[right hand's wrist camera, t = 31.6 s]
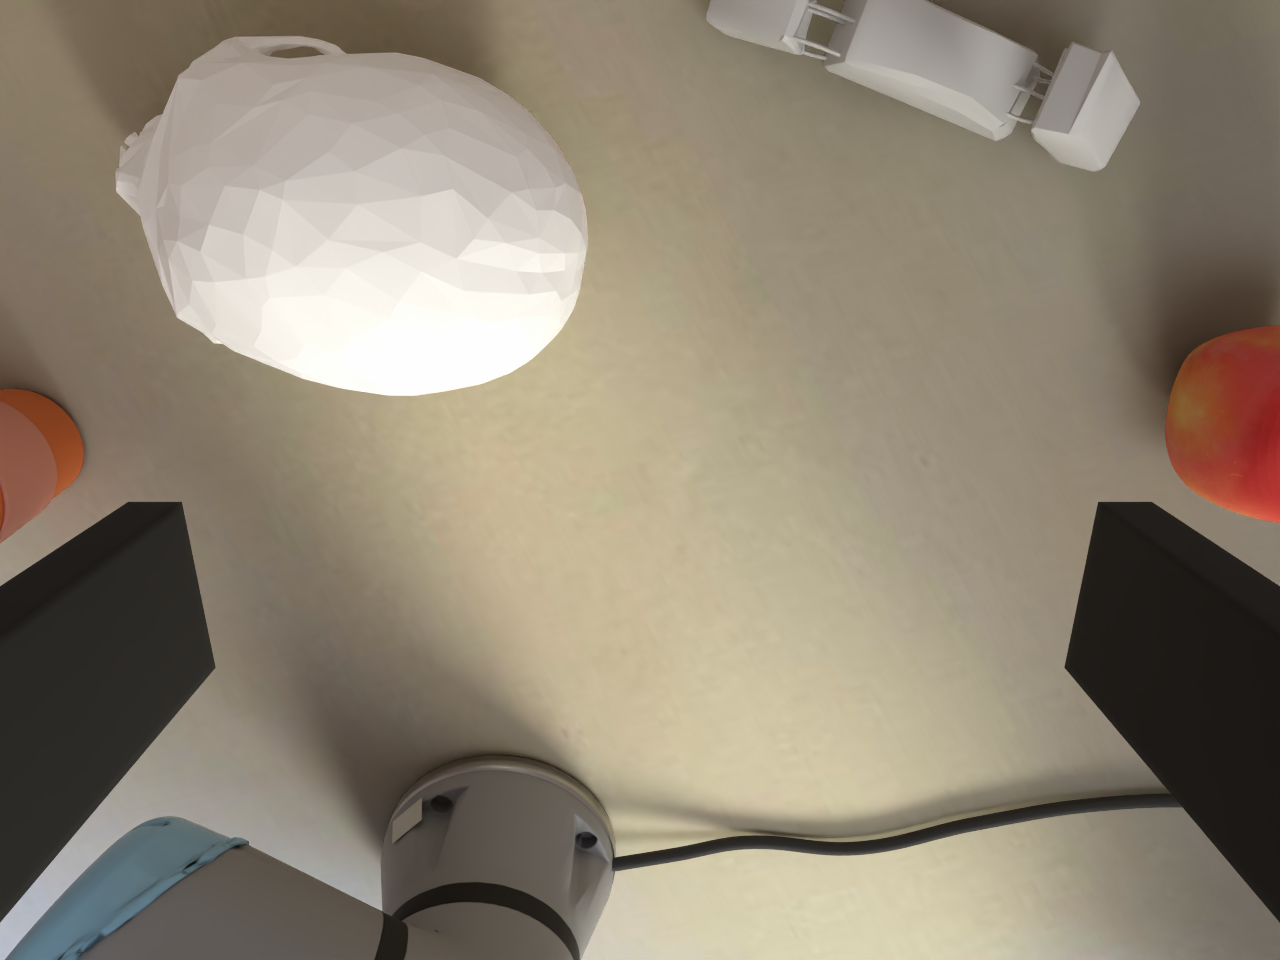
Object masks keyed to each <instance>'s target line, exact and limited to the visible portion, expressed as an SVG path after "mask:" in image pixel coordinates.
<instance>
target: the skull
mask: <svg viewBox="0 0 1280 960" xmlns="http://www.w3.org/2000/svg"><path fill="white" fill-rule="evenodd" d="M302 46H306V47H313V48H315V49H316V50H318V51H319V52H321V53H322V54H324V55H317V56H311V57H301V58H289V59H287V58H279V57H271V56H270V55H271V54H272V53H273V52H274V51H279V50H285V49H291V48H296V47H302ZM125 144H126V145H127V146H130V147H129V148H128V149H127V150H126V149H125V148H124V147H123V146H120V160H119V169H118V168H116V170H117V171H116V172H115V176H116V192H117V193H118V194H119V195H120V196H121V197H122V198H123V199H124V200H125V201H126V202H127V203H128V204H129V205H130V206H131V207H132V208H133V209H134V210H135V211H136V212H137V213H138V214H139V215H140V216H141V221H142V226H143V229H144V232H145V236H146V239H147V242H148V245H149V248H150V251H151V254H152V256H153V259H154V262H155V265H156V268H157V271H158V274H159V277H160V280H161V282H162V285H163V288H164V290H165V292H166V294H167V297H168V299H169V301H170V303H171V306H172V308H173V310H174V312H175V315H176V317H177V318H178V319H180V320H182V321H184V322H185V323H187V324H189V325H190V326H192V327H194V328H196V329H197V330H199V331H201V332H202V333H203V334H205V335H206V336H207V337H208V338H209V339H210V340H211V341H212V342H213V343H217V344H224V345H225V346H227V347H228V348H230V349H231V350H233V351H235V352H237V353H240V354H242V355H245V356H247V357H250V358H252V359H255V360H257V361H260V362H262V363H265V364H267V365H270V366H272V367H275V368H277V369H280V370H282V371H285V372H287V373H290V374H292V375H295V376H297V377H300V378H302V379H306V380H310V381H314V382H318V383H322V384H326V385H329V386H333V387H338V388H343V389H349V390H355V391H362V392H368V393H375V394H382V395H403V396H416V395H422V394H429V393H436V392H443V391H448V390H453V389H458V388H464V387H469V386H474V385H479V384H482V383H485V382H488V381H490V380H493V379H496V378H498V377H501V376H504V375H507V374H509V373H511V372H512V371H514V370H515V369H517V368H519V367H520V366H522V365H523V364H525V363H527V362H528V361H530V360H531V359H533V358H534V357H535V356H536V355H537V354H538V353H539V352H540V351H541V350H542V349H543V348H544V347H545V346H546V345H547V344H548V343H549V342H550V341H551V340H552V339H553V338H554V337H555V336H556V335H557V334H558V333H559V331H560V330H561V329H562V328H563V326H564V325H565V323H566V321H567V319H568V318H569V316H570V314H571V312H572V311H573V309H574V307H575V304H576V300H577V297H578V294H579V291H580V286H581V280H582V274H583V268H584V262H585V257H586V251H587V246H588V232H587V218H586V209H585V205H584V202H583V198H582V194H581V191H580V189H579V186H578V183H577V180H576V177H575V175H574V173H573V171H572V170H571V168H570V166H569V164H568V163H567V161H566V159H565V157H564V156H563V154H562V152H561V151H560V149H559V148H558V146H557V145H556V143H555V142H554V140H553V139H552V137H551V136H550V134H549V133H548V132H547V131H546V130H545V129H544V128H543V127H542V126H541V125H540V123H539V122H538V121H537V120H536V119H535V118H534V117H533V116H532V115H531V114H530V113H529V112H528V111H527V110H526V109H525V108H524V107H523V106H521V105H520V104H519V103H518V102H517V101H515V100H514V99H513V98H512V97H511V96H509V95H508V94H506V93H504V92H503V91H501V90H499V89H498V88H496V87H494V86H493V85H491V84H489V83H488V82H486V81H484V80H482V79H481V78H479V77H476V76H473V75H471V74H468V73H465V72H462V71H459V70H457V69H454V68H451V67H448V66H445V65H443V64H440V63H437V62H434V61H431V60H428V59H425V58H422V57H416V56H411V55H406V54H401V53H363V54H346V53H345V52H343V51H342V50H341V49H340V48H339V47H338V46H336V45H334V44H331V43H329V42H326V41H323V40H320V39H315V38H309V37H303V36H257V37H233V38H230V39H227V40H224V41H222V42H221V43H219V44H218V45H217V46H216V47H214V48H213V49H211V50H210V51H208V52H207V53H205V54H203V55H202V56H200V57H199V58H197V59H196V60H194V61H193V62H192V63H191V65H190V66H189V68H188V69H186V70H185V71H183V72H182V73H181V74H179V75H178V79H177V81H176V83H175V86H174V88H173V90H172V93H171V95H170V97H169V100H168V102H167V104H166V107H165V109H164V111H163V114H162V115H158V116H156V117H154V118H153V119H152V120H150V121H149V122H148V123H147V124H146V125H145V127H144V128H143V130H142V132H140V135H139V137H138V135H137V134H136V132H134V133H132V134H131V135H129V136H128V137H127V138H126V140H125Z"/></svg>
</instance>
